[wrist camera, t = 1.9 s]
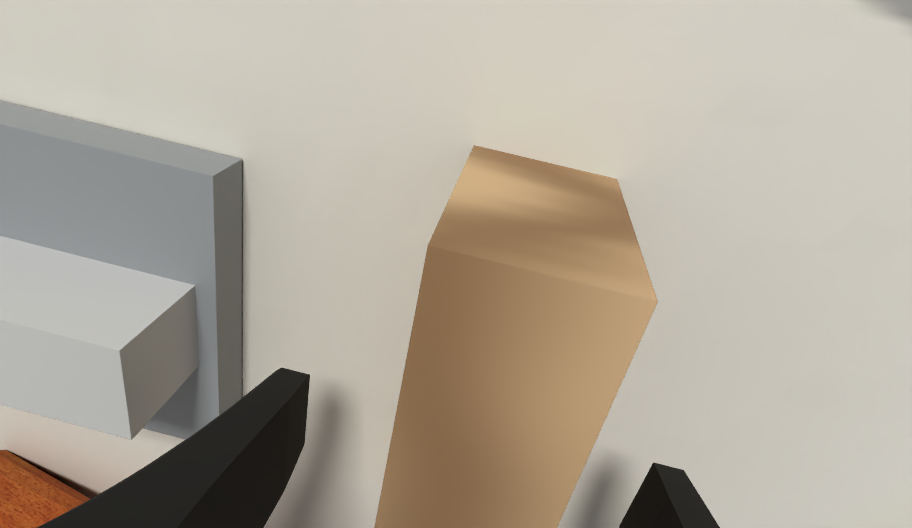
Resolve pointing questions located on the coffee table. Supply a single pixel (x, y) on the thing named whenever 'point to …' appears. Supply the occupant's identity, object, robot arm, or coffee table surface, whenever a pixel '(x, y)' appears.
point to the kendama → (31, 494)
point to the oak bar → (514, 346)
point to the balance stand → (117, 276)
